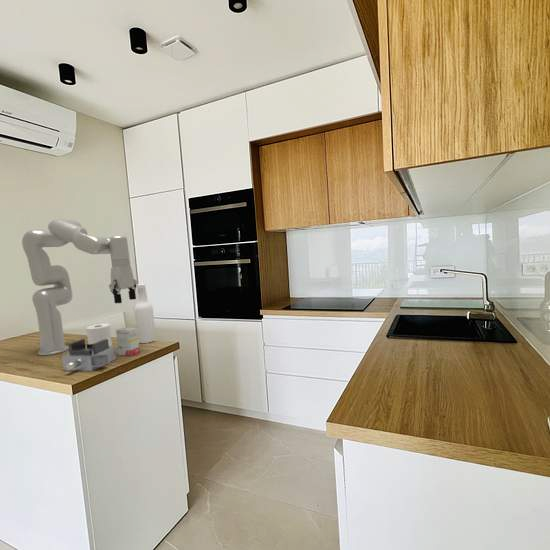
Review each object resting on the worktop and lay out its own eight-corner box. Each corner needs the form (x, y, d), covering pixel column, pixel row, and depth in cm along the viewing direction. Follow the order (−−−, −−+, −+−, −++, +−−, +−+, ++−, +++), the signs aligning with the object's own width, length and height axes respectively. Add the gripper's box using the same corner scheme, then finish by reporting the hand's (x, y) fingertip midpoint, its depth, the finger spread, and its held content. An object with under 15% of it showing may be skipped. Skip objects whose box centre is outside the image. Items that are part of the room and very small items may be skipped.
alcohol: (144, 344, 163) (138, 285, 161) (134, 342, 168) (128, 285, 166) (159, 339, 171) (153, 283, 168) (148, 338, 176) (143, 283, 173)
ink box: (140, 352, 151) (137, 327, 150) (131, 356, 146) (129, 330, 145) (126, 351, 154) (124, 326, 153) (118, 354, 150) (115, 329, 149)
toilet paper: (115, 349, 158) (112, 325, 157) (91, 355, 151) (88, 329, 150) (109, 345, 166) (106, 322, 165) (86, 351, 159) (83, 326, 158)
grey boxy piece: (53, 374, 129) (50, 349, 128) (90, 358, 147) (87, 336, 146) (91, 375, 125) (88, 350, 124) (123, 359, 143) (121, 336, 142)
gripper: (126, 263, 156) (131, 298, 157) (99, 265, 139) (104, 305, 141) (140, 261, 154) (144, 297, 156) (114, 264, 137) (119, 304, 139)
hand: (125, 301), depth 148 cm, fingers open, 9 cm apart
